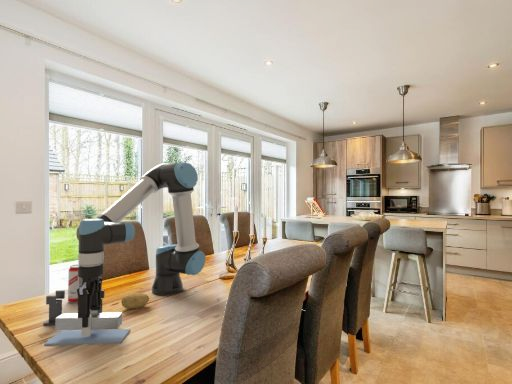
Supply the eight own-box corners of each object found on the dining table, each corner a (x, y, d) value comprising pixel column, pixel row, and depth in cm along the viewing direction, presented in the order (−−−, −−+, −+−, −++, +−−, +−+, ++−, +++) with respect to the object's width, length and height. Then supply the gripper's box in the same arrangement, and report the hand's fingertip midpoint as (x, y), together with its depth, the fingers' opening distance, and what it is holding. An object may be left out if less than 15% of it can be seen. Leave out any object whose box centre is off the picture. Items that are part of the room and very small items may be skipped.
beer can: (76, 304, 130) (77, 268, 130) (64, 302, 131) (65, 267, 131) (87, 299, 136) (87, 264, 136) (75, 298, 137) (76, 263, 137)
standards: (106, 317, 116) (107, 289, 117) (99, 325, 110) (99, 295, 110) (53, 318, 115) (54, 290, 115) (42, 326, 108) (43, 296, 108)
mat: (130, 330, 106) (130, 329, 106) (120, 343, 97) (120, 341, 97) (60, 332, 104) (60, 330, 104) (44, 345, 95) (44, 343, 95)
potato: (122, 306, 128) (122, 291, 128) (149, 303, 132) (149, 289, 132) (120, 312, 122) (120, 297, 122) (148, 309, 125) (148, 294, 125)
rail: (121, 323, 103) (122, 312, 103) (117, 329, 99) (117, 317, 99) (62, 324, 101) (62, 313, 101) (55, 330, 97) (55, 318, 97)
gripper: (91, 258, 109) (90, 321, 108) (65, 270, 92) (63, 345, 91) (112, 258, 109) (111, 321, 109) (90, 270, 92) (88, 345, 92)
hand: (89, 332), depth 100 cm, fingers closed on rail, 4 cm apart
